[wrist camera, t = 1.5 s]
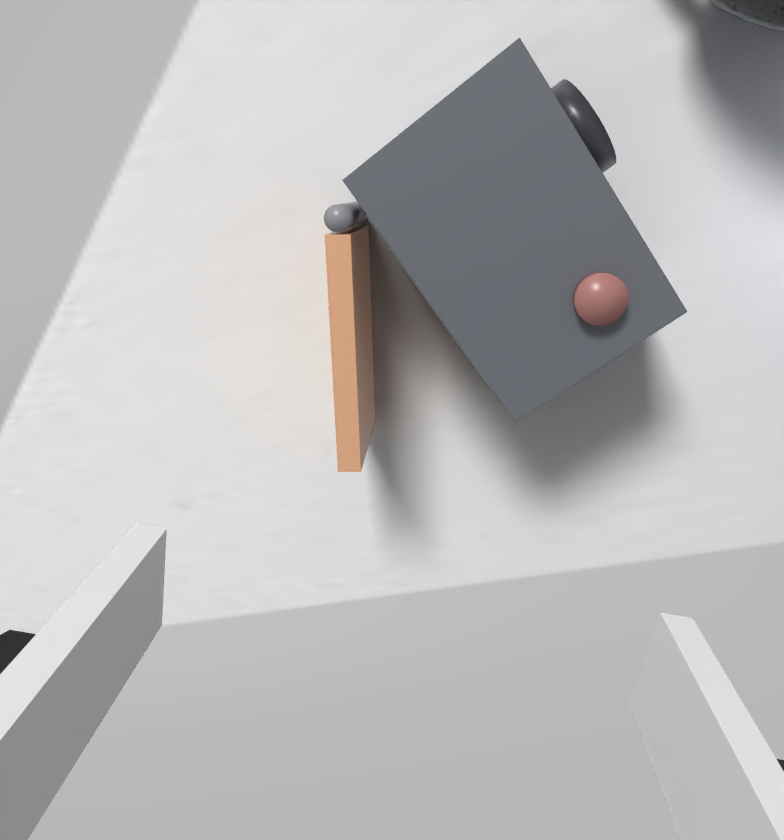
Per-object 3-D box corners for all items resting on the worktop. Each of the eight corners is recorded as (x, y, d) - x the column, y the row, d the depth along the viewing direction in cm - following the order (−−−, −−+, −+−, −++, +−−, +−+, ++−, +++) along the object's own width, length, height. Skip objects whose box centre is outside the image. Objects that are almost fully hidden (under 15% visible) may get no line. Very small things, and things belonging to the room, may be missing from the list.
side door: (375, 419, 36) (360, 471, 29) (356, 420, 36) (338, 471, 30) (367, 201, 32) (349, 204, 26) (346, 201, 33) (323, 205, 26)
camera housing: (660, 272, 33) (721, 296, 26) (498, 380, 35) (512, 429, 28) (524, 52, 30) (551, 9, 23) (358, 184, 33) (336, 183, 25)
